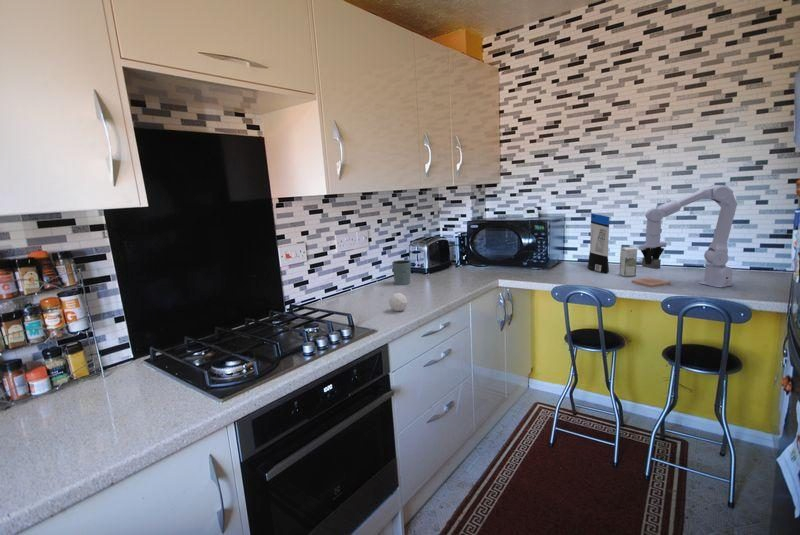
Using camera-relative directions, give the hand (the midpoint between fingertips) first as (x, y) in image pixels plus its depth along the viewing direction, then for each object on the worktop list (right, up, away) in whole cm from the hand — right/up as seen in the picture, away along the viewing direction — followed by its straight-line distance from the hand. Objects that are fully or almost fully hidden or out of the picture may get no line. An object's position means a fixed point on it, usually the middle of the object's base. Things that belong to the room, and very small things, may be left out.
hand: (651, 263), depth 194 cm
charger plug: (0, -2, 0) cm, 2 cm away
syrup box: (-1, -6, +19) cm, 20 cm away
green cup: (-116, -11, +32) cm, 121 cm away
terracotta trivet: (+1, -9, +2) cm, 9 cm away
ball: (-118, -20, -16) cm, 121 cm away
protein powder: (-8, -3, +36) cm, 37 cm away
